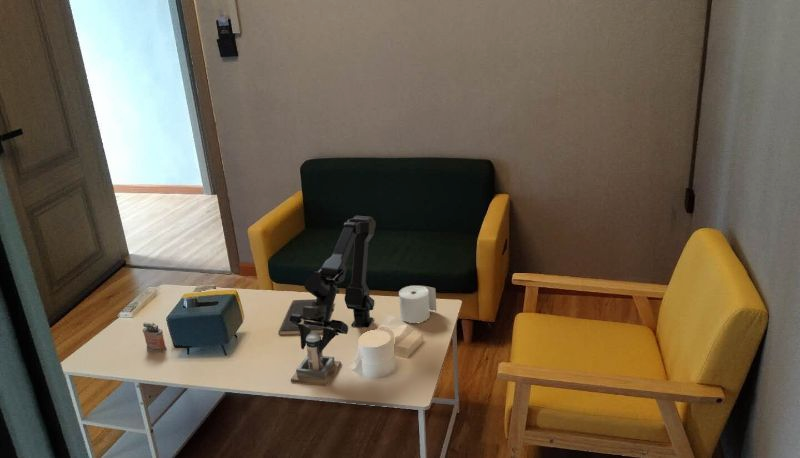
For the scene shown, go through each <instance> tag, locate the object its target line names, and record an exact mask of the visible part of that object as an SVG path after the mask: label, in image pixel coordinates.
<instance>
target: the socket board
mask: <svg viewBox="0 0 800 458" xmlns="http://www.w3.org/2000/svg"><path fill="white" fill-rule="evenodd" d="M323 365H324V367H323V369H322V370H321V371H318V370H309V364H308V354H306V356H305V357H304V359H303V360H302V361H301V363H300V364H299V365H298V367H297V368H296V370H295V372H294V374H293V375H292V376H291V378H290V383H297V384H306V385H315V386H321V387H322V386H325V387H328V385H329V383H330V382H331V381H332V379H333V377H334V376H335V374H336V373H337V371H338V370H339V368H340V366H341V365H342V361H337V360H335V357H334V356H329V355H323Z"/></svg>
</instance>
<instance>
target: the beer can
mask: <svg viewBox="0 0 800 458" xmlns="http://www.w3.org/2000/svg"><path fill="white" fill-rule="evenodd" d="M321 340H322V335H321V333H317V332H313V333H309V334H308V335H307V337H306V352H307V354H306V355H308V364H309V370H318V371H321V370H322V369H323V367H324V365H323V356H324V355H323V351H322V352H319V346H320V343H321Z"/></svg>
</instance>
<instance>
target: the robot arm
mask: <svg viewBox="0 0 800 458" xmlns="http://www.w3.org/2000/svg"><path fill="white" fill-rule="evenodd" d="M376 225H377V221H376V220H374V217H373V216H363V215H354V216H353V218H349V219H347V221H345V222H344V223H343V226H342V231H341V233H340V236H339V238H338V240H337V243H336V245H335V248H334V250H333V253H332V254H331V256H330V257H329V258H327V259H326V260H325V261H324V263H323V264H322V266H321V268H320V269H318V271H313V273H312V275H309V276H308V277H307V278H306V279H305V280H304V285H303V287H304V289H305V290H306V292H308V293H310V294H311V295H313V296H314V297H316V298H315V299H316V301H315V302H313V303H312V305H311V306H304V307H303V311H302V315H300V314H294V313H293V314H291V315H290V317H289V320H288V321H289V322H291V323H292V324H294V325H296V326H298V328H299V330H300V334H299V335H300V337H299V338H300V349H301V350H304V349H305V348H306V347H307V343H306V337H307V335H308V334H309V333H310V332H311V329H309V328H308V326H309V325H312V326H318V327H324V328H323V333H322V335H321V343H320V346H319V352H322V353H323V351H324V349H326V347H327V345H328V344H330V342H331V341H332V340H333V339H334V338H335V337H336V336H339V334H344V335H347V334H348V332H349V326H348V324H347V323H345V322H344V321H342V320H338V319H331V320H330V317H331V315H332V314H331V313H333V312H334V311H335V309H334V303H335V299H336V297H337V294H340V290H339V288H338V284H342V283H343V282H344V280H345V279H346V273H347V265H346V263H347V260H348V257H349V255H350V253H351V249H352V247H353V245H354V247H353V259H352V261H353V262H352V270H351V271H352V272H351V273H352V274H351V282H350V284H348V286H346V288H345V293H344V303H345V305H346V308H347V309H348V310H352V312H353V322H351V324H350V325H351V326H350V327H357V328H369V327H370V326H371V324H372V322H373V321H374V317H372V316H371V314H370V311H374V307H375V300H374V299H373V298H372V297H371V296H370V288H369V287H368V284H367V283H366V281H367V280H366V279H367V269H368V268H367V267H368V257H369V256H368V255H369V254H368V253H369V242H370V241H371V239H372V238H373V236H374V234H375V229H376ZM306 317H308V318H310V319H308V318H306Z"/></svg>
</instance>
